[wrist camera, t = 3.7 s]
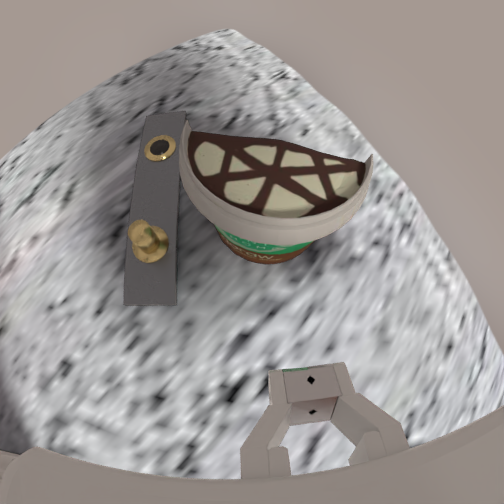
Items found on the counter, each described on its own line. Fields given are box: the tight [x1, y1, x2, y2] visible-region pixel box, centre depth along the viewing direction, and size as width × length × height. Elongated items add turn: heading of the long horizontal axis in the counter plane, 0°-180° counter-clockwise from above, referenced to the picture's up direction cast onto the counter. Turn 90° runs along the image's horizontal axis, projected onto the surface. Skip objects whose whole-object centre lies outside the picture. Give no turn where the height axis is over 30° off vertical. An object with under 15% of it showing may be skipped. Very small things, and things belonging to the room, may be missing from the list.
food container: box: [179, 120, 373, 264], centre depth 20 cm, size 12×6×10 cm, turn 79°
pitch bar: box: [124, 111, 186, 306], centre depth 24 cm, size 4×20×4 cm, turn 3°
